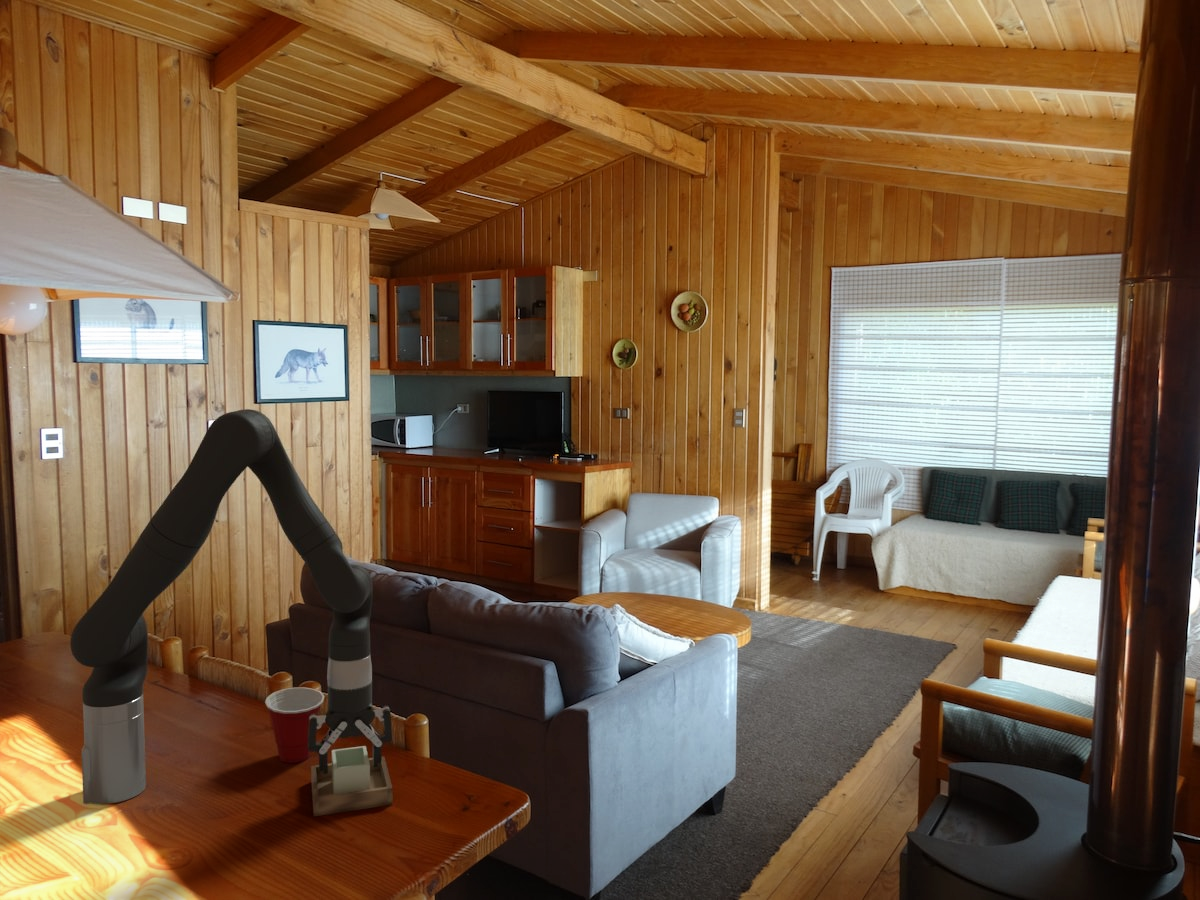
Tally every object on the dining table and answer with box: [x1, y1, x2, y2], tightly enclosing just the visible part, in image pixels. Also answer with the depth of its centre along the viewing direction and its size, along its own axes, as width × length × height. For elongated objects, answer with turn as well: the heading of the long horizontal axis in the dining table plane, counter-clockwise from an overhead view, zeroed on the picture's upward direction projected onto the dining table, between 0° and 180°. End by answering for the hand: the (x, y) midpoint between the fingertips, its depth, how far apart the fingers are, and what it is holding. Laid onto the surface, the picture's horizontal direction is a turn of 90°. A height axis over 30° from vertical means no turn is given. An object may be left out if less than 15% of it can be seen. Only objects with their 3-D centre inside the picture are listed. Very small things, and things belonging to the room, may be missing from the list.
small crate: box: [331, 745, 370, 794], centre depth 154 cm, size 6×8×6 cm
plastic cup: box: [264, 686, 325, 764], centre depth 168 cm, size 11×11×12 cm
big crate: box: [310, 755, 393, 817], centre depth 155 cm, size 13×13×3 cm
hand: (350, 768), depth 154 cm, fingers open, 8 cm apart
